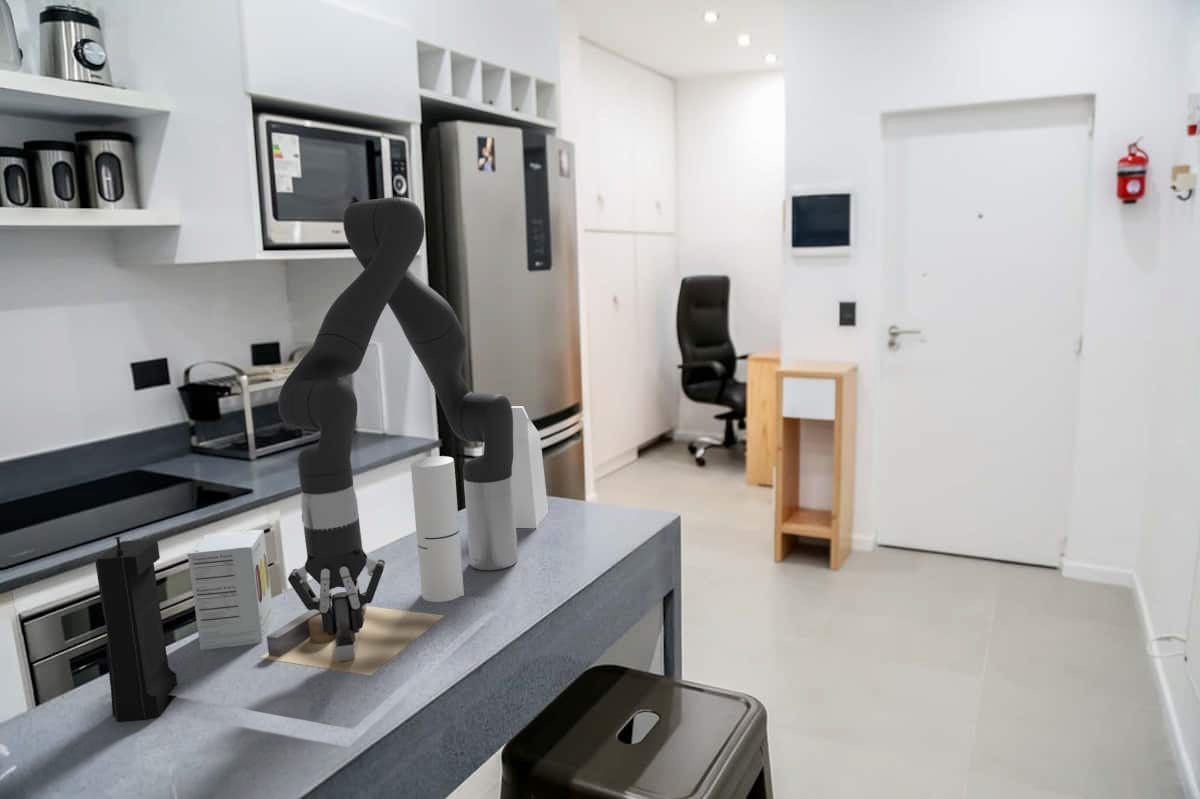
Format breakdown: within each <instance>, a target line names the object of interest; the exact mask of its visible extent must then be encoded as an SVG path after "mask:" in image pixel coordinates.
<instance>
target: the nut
mask: <svg viewBox="0 0 1200 799" xmlns="http://www.w3.org/2000/svg"><path fill="white" fill-rule="evenodd" d="M309 632H310V641H311V642H312V643H316V644H322V643H327V642H330V641H333V640H335V634H334V636H329V635H328V632H327V633H325V632H324V630H323V624H322V615H318V616H315V617H313V618H311V619H310V620H309Z"/></svg>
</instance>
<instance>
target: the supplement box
mask: <svg viewBox="0 0 1200 799" xmlns="http://www.w3.org/2000/svg"><path fill="white" fill-rule="evenodd" d="M187 558H188V566H189V575H190V582H191V587H192V595H193V603H194V609H195V618H196V625H197V633H198V640H199V642H198V643H199V649H200V650H212V649H221V648H230V647H238V646H239V647H240V646H246V645H253V644H261V643H263V642H264V640H265V638H266V637H267V634H268V632H269V630H270V628H271V626H272V624H273V621H274V618H275V617H274V608H273V599H272V598H273V597H272V591H271V581H270V573H269V572H270V571H269V565H268V564H269V563H268V556H267V548H266V539H265V531H264V529H254V530H253V529H252V530H243V531H234V532H223V533H222V532H221V533H215V534H206V535H203V537H202V538H201V540H200V541H199V542H198V543H197V544H196V545H195V547H194V548H192V549H191V551H189V552H188V554H187Z"/></svg>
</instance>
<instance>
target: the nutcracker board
mask: <svg viewBox="0 0 1200 799" xmlns="http://www.w3.org/2000/svg"><path fill="white" fill-rule="evenodd" d="M318 615H321V612H320V611H318V610H315V609H313V610H307V611H305V612H304V613H302V614H301V615H298V617H295V618H294V619H293V620H291V621H290V622H288V623H286V624H285V625H283V626H281V627H279V628H278V629H276V630H274V631H273V632H271V633H270V634H268V635H266V642H267V643H266V644H267V649H268V650H267V652H266V653H263V655H261V656H259V659H263V660H270V661H277V662H282V663H289V664H295V665H300V666H301V665H302V666H308V667H314V668H321V669H327V670H332V671H333V670H334V671H340V672H346V673H352V674H357V675H358V674H359V675H365V676H372V675H373V674H375V673H376V672H377V671H379V669H380V668H382V667H383V666H384V665H386V664H388V662H390V661H391V660H393V658H394V657H396V656H397V655H398V654H400V652H402V651H403V650H404V649H406V648H407V647H408V646H409V645H411V644H412V643H413V642H414V641H416V639H418V638H419V637H420V636H422V635H423V634H424V633H426V632H427V631H428V630H429V629H430V628H432V627H433V626H434V625H435V624H437V622H439V621H440V620H441V619H443V618H444V617H445V615H443V614H435V613H434V614H433V613H428V612H427V613H426V612H418V611H411V610H401V609H394V608H387V607H386V608H385V607H378V606H371V605H370V606H368V605H366V611H365V612H364V613H363V615H364V623H363V626H362V628H360V630H359V636H358V643H357V649H356V655H355V659H350V660H343V661H338V660H337V650H336V645H337V644H336V641H335V640H333V641H330V642H327V643H322V644H316V643H312V642H311V641H310V632H309V620H310V619H311V618H313V617H315V616H318Z"/></svg>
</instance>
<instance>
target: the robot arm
mask: <svg viewBox="0 0 1200 799" xmlns="http://www.w3.org/2000/svg"><path fill="white" fill-rule="evenodd" d="M342 221H343V223H342V225H343V231H344V234H345V239H346V241H347V243H348V245H349V248H350V249H351V251H352V252H353V254H354V256H355V257H356V259H357V260H358V262H359V263H360V265H361V266H362V268H364V269H363V271H362V272H361V273H360V274H359V275H358V276H357V277H356V278H355V279H354V280H353V282H352V283H350V284H349V286H348V287H347V288H346V289H344V290H343V292H342V293H340V295H339V296H338V297H337V298H335V300H334V302H332V304H331V306H330V308H329V309H328V311H327V312H326V314H325V316H324V319H323V320H322V323H321V326H320V329H319V330H318V332H317V335H316V338H315V340H314V343H313V345H312V347H311V348H310V349H309V350H308V351H307V353H306V354H305V355H304V356H303V357H302V359H301V360H300V361H299V362H298V363H297V365H296V367H294V369H293V370H292V372H291V373H290V374H289V375H288V377H287V378H286V379H285V381H284V382H283V385H282V387H281V390H280V392H279V394H278V401H277V408H278V414H279V417H280V419H281V420H282V422H283V423H284V424H285V425H286V426H288V427H291V428H293V429H298V430H319V431H320V434H319V440H318V443H317V444H315V445H311V446H308V447H306V448H303V449H302V450H301V451H300V452H299V454H298V456H297V467H298V476H299V484H300V491H301V498H300V499H301V500H300V502H301V503H300V505H301V521H302V524H303V532H304V540H305V541H304V542H305V548H306V561H305V563H304V565H303V566H301V567H299V568H293V569H292V570H291V572H290V574H288V575H289V576H288V578H287V580H288V582H289V584H290V585H291V587H292V588H293V590H294V591H295V593H296V595H297V596H298V597H299V599H300V600H301V602H302V604H303V605H304V606H305V609H307V611H309V610H313V609H315V610H318V611H320V612H321V615H322V624H323V630H324V632H325V633H327V632H328V635H329V636H334V634H335V632H334V622H333V613H332V603H331V596H332V595H333V594H332V592H333V589H336V588H344V590H345V592H346V593H347V595H348V596H349V599H350V603H351V606H352V608H351V616H352V625H353V633H359V630H360V628H362V626H363V623H364V615H363V605H364V604H366V605H367V604H371V603H372V602H373V599H374V597H375V594H376V591H377V589H378V586H379V583H380V580H381V578H382V575H383V572H384V569H385V565H386V562H385V560H383V559H378V560H373V559H371V558H368V556H367V553H366V552H364V549H363V542H362V534H361V524H360V516H359V508H358V507H359V506H358V498H357V495H356V492H355V491H356V490H355V487H354V479H353V469H352V462H351V456H352V455H351V454H352V447H353V440H354V434H355V428H356V424H357V418H358V417H357V416H358V400H357V397H356V395H355V391H354V390H353V388H352V387H351V385H350V384H349V383H347V381H345V380H342V379H341V378H342V377H348V376H349V375H352V374H354V373H355V372H356V371H358V370H359V369H360V367H361V365H362V363H363V359H364V358H365V355H366V353H367V350H368V347H369V344H370V341H371V339H372V336H373V333H374V331H375V329H376V326H377V324H378V321H379V319H380V317H381V315H382V314H383V311H384V309H385V308H386V306H387V305H388V306H389V308H390V310H391V311H392V313H393V315H394V316H395V318H396V320H397V322H398V324H399V326H400V327H401V330H402V332H403V334H404V336H405V337H406V339H407V341H408V343H409V345H410V347H411V349H412V350H413V352H414V354H415V355H416V357H417V359H418V360H419V362H420V364H421V366H422V367H423V369H424V371H425V373H426V375H427V377H428V380H429V381H430V383H431V384H432V387H433V389H434V391H435V393H436V396H437V399H438V400H439V403H440V405H441V407H442V410H443V412H444V416H445V418H446V420H447V422H448V425H449V427H450V429H451V430H452V432H453V434H454V435H455V436H456V437H457V438H458V439H460V440H463V441H465V442H473V443H474V442H476V443H483V442H484V454H483V455H482V454H481V456H476V457H475V458H472V459H470V460H468V461H466V462H465V463H463V467H462V474H463V475H462V476H463V477H462V478H463V488H464V489H463V490H464V499H465V502H464V503H465V514H466V516H465V517H466V529H467V540H468V541H467V542H468V555H469V556H468V558H469V565H470V567H471V568H473V569H476V570H480V571H495V570H496V571H497V570H502V569H507V568H509V567H511V566H513V565H515V564H516V563H517V562H518V555H519V553H518V552H519V551H518V550H519V549H518V536H517V529H516V518H515V510H514V497H513V482H512V463H513V453H514V452H513V413H512V405H511V402H510V400H509V399H508V397H507V396H505V395H503V394H501V393H500V394H499V393H484V392H483V393H482V392H479V393H478V392H472V391H471V389H470V388H469V387H468V386H467V383H466V381H465V380H464V377H463V374H462V367H463V363H464V358H465V356H466V350H467V338H466V334H465V332H464V329H463V327H462V324H461V323H460V321H459V319H458V317H457V315H456V313H455V311H454V309H453V307H452V306H451V305H450V303H449V302H448V301H447V300H446V299H445V298H443V296H441V295H440V294H439V293H438V292H437V291H436V290H435V289H433V288H432V287H430V286H429V285H427V284H426V283H425V282H424V281H423V280H421V279H420V278H419V277H418V276H416V275H415V274H414V273H413V272H412V271H410V269H409V268H410V266H411V264H412V263H413V261H414V259H415V258H416V256H417V254H418V252H419V250H420V248H421V246H422V244H423V240H424V237H425V220H424V215H423V214H422V211H421V209H420V208H419V206H418V205H417V204H416V203H415V201H413V200H412V199H410V198H408V197H401V196H395V197H394V196H391V197H384V198H375V199H367V200H361V201H357V202H353V203H352V204H350V205H349V206H348V207H347V208H346V209H345V211H344V215H343V220H342ZM364 568H367V575H368V577H369V576H370V579H369V582H368V585H367V588H366V591H364V592H361V590H360V584H359V579H358V578H359V576H360V575H361V572H362V571H363V570H364ZM308 574H309V576H311V577H312V579H314V581H315V582H317V584H319V586H320V588H319V597H318V596H317V595H316V593H315V592H314V591H313V589H312V587H311V586H310V584H309V582H307V581H308V579H309V576H308Z"/></svg>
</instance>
